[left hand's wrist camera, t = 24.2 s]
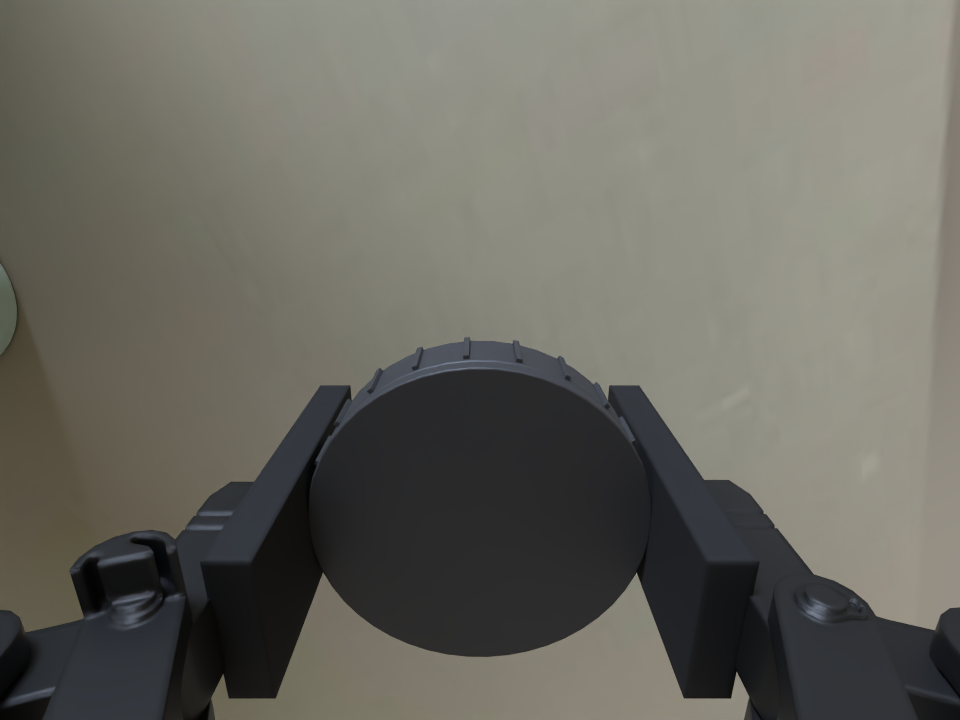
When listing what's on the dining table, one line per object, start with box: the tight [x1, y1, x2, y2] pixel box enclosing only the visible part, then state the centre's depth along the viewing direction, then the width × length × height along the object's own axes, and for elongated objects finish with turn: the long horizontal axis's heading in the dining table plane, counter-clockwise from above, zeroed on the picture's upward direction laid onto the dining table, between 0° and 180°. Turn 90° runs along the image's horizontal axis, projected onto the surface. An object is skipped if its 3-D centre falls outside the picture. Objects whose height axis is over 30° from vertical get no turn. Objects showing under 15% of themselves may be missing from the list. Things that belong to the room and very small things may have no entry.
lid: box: [308, 337, 652, 657], centre depth 11 cm, size 7×7×2 cm
